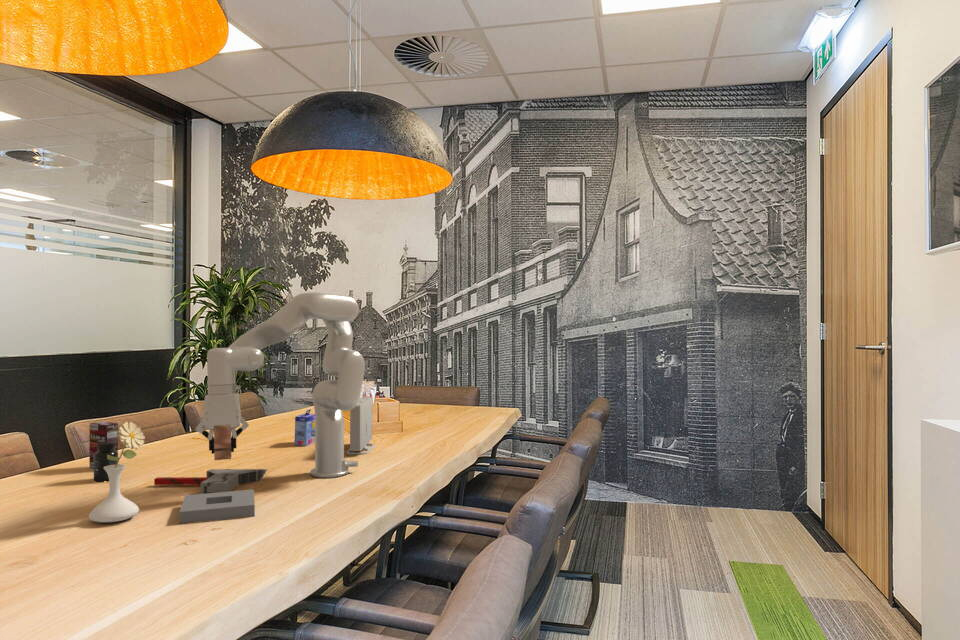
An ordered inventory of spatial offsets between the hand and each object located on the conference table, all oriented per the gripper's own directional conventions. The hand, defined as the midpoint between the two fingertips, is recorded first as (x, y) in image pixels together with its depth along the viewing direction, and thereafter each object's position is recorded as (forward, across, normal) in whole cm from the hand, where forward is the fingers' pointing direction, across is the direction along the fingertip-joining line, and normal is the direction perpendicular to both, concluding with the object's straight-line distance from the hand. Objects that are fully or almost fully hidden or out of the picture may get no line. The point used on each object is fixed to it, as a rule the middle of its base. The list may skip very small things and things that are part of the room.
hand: (222, 451), depth 182 cm
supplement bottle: (+13, +36, -34) cm, 51 cm away
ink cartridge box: (+15, -30, -73) cm, 80 cm away
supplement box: (+13, +40, -52) cm, 67 cm away
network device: (+15, -50, -54) cm, 75 cm away
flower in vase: (+13, +25, +12) cm, 31 cm away
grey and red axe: (+14, +5, -18) cm, 23 cm away
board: (+13, +1, +14) cm, 20 cm away
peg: (+2, 0, 0) cm, 2 cm away
